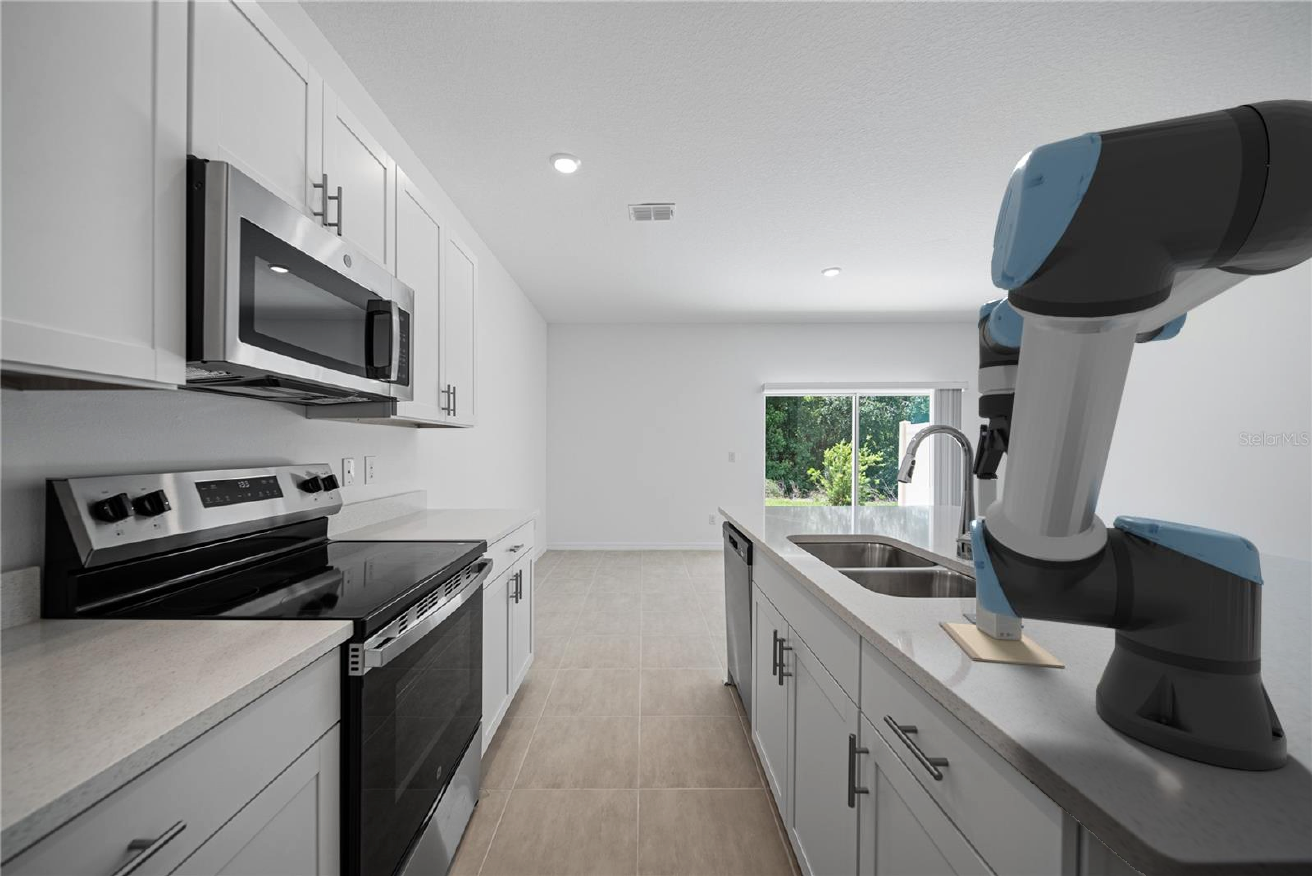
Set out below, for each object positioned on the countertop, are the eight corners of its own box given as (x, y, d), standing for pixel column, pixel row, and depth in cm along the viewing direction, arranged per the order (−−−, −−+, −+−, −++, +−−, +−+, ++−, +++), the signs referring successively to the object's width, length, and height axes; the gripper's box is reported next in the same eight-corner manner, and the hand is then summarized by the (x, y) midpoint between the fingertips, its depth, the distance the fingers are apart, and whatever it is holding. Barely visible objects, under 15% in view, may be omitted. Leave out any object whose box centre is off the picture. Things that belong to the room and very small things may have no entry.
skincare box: (1023, 640, 86) (1023, 566, 86) (996, 640, 86) (996, 566, 86) (999, 627, 92) (999, 558, 92) (974, 627, 92) (974, 557, 92)
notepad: (1064, 667, 76) (1064, 665, 76) (972, 660, 79) (972, 657, 79) (1014, 629, 92) (1014, 627, 92) (938, 624, 94) (938, 621, 94)
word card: (1023, 627, 93) (1023, 625, 93) (973, 623, 95) (973, 621, 95) (1010, 618, 98) (1010, 616, 98) (963, 614, 100) (962, 612, 100)
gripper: (1073, 385, 76) (1073, 534, 76) (996, 400, 101) (996, 512, 100) (1015, 386, 77) (1015, 532, 77) (953, 400, 102) (953, 511, 102)
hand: (1004, 521), depth 89 cm, fingers open, 13 cm apart
